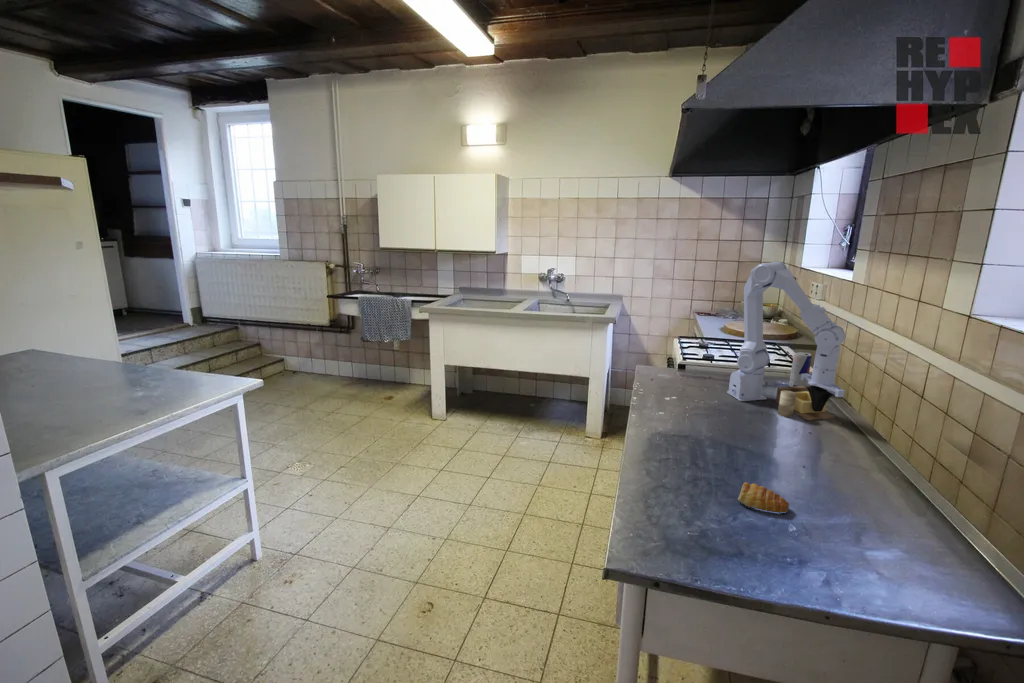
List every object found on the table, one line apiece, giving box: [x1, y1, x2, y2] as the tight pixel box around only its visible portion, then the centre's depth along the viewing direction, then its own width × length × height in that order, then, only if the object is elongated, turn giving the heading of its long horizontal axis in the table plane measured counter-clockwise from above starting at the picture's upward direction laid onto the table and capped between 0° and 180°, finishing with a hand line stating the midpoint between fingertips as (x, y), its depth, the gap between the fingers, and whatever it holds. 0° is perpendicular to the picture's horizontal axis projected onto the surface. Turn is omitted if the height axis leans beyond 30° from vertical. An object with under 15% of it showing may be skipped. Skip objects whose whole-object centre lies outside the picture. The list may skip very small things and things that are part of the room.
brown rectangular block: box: [775, 386, 836, 421], centre depth 150 cm, size 9×14×5 cm, turn 9°
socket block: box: [794, 390, 828, 413], centre depth 150 cm, size 8×8×4 cm
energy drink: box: [788, 351, 813, 387], centre depth 168 cm, size 5×5×12 cm
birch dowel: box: [777, 390, 796, 418], centre depth 146 cm, size 4×4×7 cm
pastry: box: [737, 482, 790, 513], centre depth 103 cm, size 9×7×4 cm
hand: (817, 410), depth 145 cm, fingers closed
